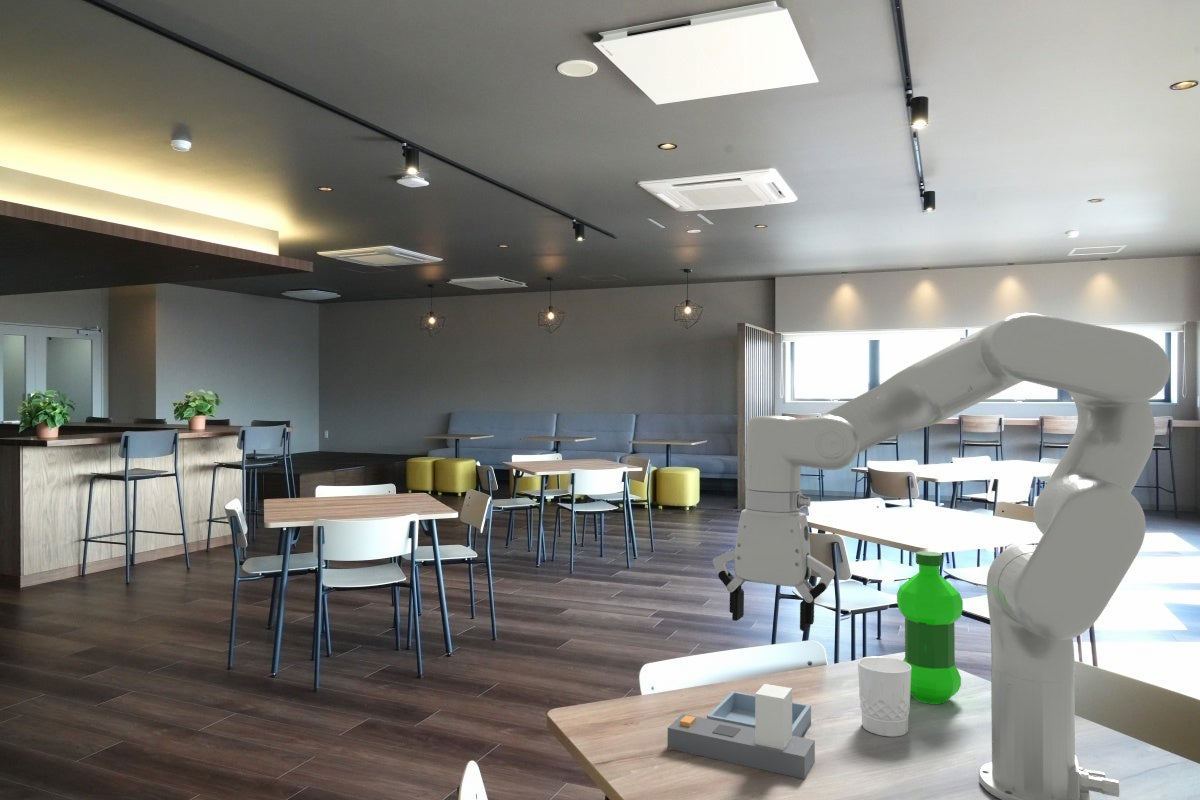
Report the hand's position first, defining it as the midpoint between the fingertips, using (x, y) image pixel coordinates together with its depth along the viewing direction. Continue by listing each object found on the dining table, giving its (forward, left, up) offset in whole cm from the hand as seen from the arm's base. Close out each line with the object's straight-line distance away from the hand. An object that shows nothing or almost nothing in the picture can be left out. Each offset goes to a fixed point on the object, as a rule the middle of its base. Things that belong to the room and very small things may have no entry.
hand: (770, 623), depth 109 cm
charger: (0, 0, -19) cm, 19 cm away
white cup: (-12, -20, -20) cm, 31 cm away
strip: (+5, 0, -20) cm, 20 cm away
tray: (+5, -10, -20) cm, 22 cm away
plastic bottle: (-17, -37, -20) cm, 45 cm away
